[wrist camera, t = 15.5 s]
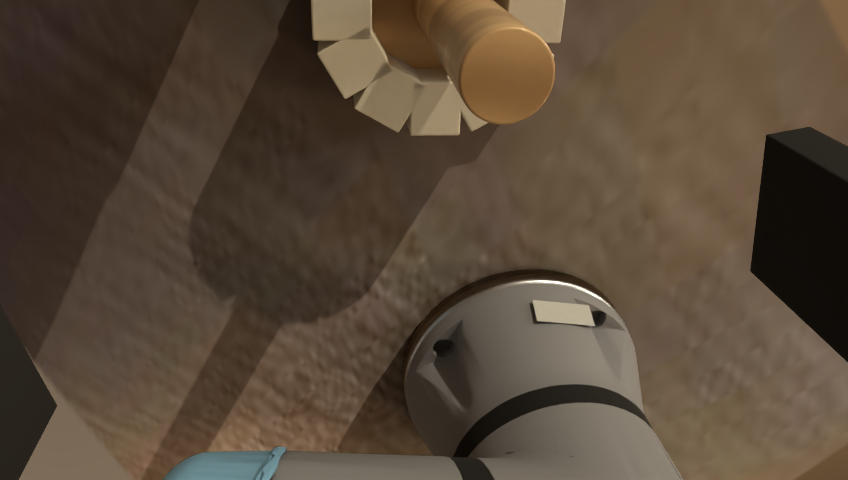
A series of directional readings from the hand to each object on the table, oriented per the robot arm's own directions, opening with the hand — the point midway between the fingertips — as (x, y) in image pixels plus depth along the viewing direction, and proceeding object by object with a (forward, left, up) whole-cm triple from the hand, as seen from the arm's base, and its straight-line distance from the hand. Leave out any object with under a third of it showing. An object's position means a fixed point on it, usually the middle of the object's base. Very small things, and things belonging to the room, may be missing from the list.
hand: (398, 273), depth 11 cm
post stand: (0, -4, -24) cm, 25 cm away
